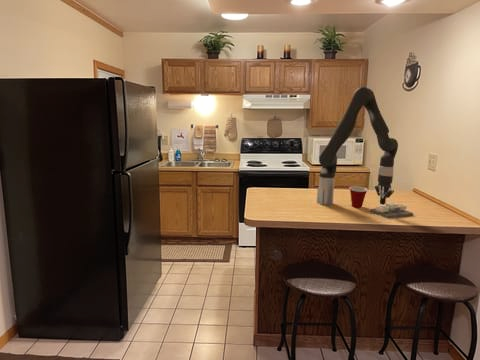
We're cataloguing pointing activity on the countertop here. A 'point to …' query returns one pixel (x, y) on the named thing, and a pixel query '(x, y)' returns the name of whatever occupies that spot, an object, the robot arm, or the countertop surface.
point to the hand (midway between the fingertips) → (382, 204)
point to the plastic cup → (357, 195)
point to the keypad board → (392, 213)
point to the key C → (402, 207)
